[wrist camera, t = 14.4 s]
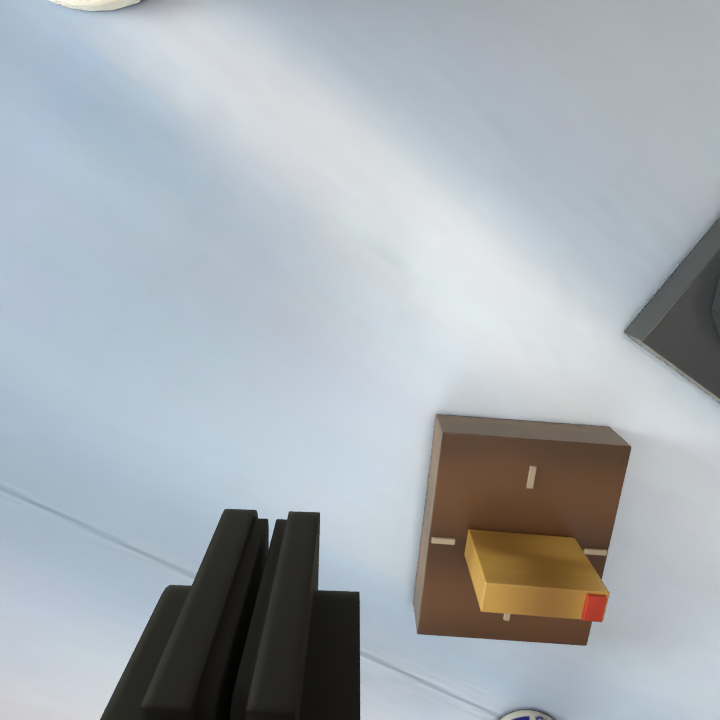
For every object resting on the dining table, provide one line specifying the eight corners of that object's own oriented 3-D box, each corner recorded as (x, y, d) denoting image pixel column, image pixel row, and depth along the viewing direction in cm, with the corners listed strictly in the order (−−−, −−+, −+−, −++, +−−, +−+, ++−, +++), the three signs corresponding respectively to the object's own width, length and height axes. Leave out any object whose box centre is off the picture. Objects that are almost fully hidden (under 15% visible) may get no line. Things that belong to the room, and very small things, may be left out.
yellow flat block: (464, 554, 34) (481, 615, 29) (468, 528, 34) (486, 586, 29) (569, 562, 34) (605, 624, 29) (574, 537, 34) (612, 595, 29)
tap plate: (436, 413, 35) (442, 433, 32) (609, 426, 35) (633, 447, 32) (412, 602, 39) (417, 636, 36) (570, 613, 39) (587, 648, 36)
